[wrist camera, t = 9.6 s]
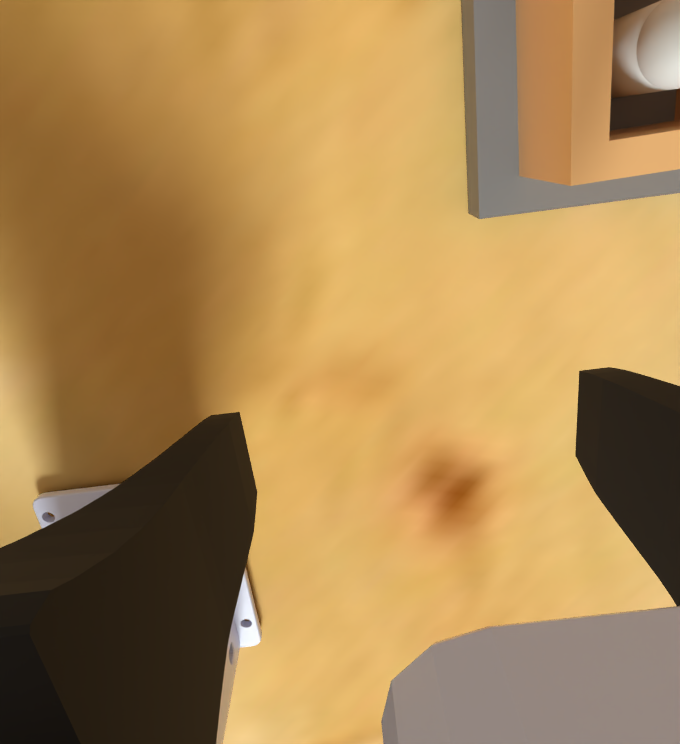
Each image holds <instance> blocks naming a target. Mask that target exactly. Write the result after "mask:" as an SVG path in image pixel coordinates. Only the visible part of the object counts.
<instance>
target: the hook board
mask: <svg viewBox="0 0 680 744" xmlns="http://www.w3.org/2000/svg"><path fill="white" fill-rule="evenodd" d="M461 7H462V36H463V66H464V95H465V125H466V154H467V183H468V213H469V214H471V215H473V216H475V217H477V218H478V219H483V218H491V217H498V216H506V215H514V214H521V213H529V212H537V211H544V210H552V209H560V208H567V207H575V206H583V205H590V204H598V203H606V202H613V201H621V200H628V199H636V198H644V197H651V196H659V195H667V194H674V193H680V169H677V170H671V171H664V172H658V173H651V174H645V175H639V176H632V177H626V178H619V179H613V180H606V181H600V182H593V183H587V184H581V185H574V186H568V185H563V184H557V183H552V182H547V181H542V180H537V179H531V178H526V177H521V176H519V143H518V95H517V48H516V1H515V0H461ZM678 88H680V0H614V26H613V53H612V79H611V105H610V131H612V130H618V129H625V128H631V127H637V126H644V125H650V124H656V123H662V122H669V121H674V117H675V105H676V92H677V89H678Z"/></svg>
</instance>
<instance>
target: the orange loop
mask: <svg viewBox="0 0 680 744" xmlns="http://www.w3.org/2000/svg"><path fill="white" fill-rule="evenodd" d="M515 1H516V48H517V95H518V143H519V176H521V177H526V178H531V179H537V180H542V181H547V182H552V183H557V184H563V185H568V186H574V185H581V184H587V183H593V182H600V181H606V180H613V179H619V178H626V177H632V176H639V175H645V174H651V173H658V172H664V171H671V170H677V169H680V88H678V89H677V92H676V105H675V117H674V121H669V122H662V123H656V124H650V125H644V126H637V127H631V128H625V129H618V130H612V131H610V105H611V79H612V53H613V26H614V0H515Z"/></svg>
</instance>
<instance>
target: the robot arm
mask: <svg viewBox="0 0 680 744" xmlns="http://www.w3.org/2000/svg"><path fill="white" fill-rule="evenodd" d="M576 457H577V459H578V461H579V463H580V465H581V467H582V469H583V471H584V473H585V475H586V477H587V479H588V480H589V482H590V484H591V486H592V488H593V489H594V491H595V493H596V494H597V496H598V497H599V499H600V500H601V501H602V503H603V504H604V506H605V507H606V508H607V510H608V511H609V512H610V514H611V515H612V516H613V518H614V519H615V521H616V522H617V523H618V525H619V526H620V527H621V529H622V530H623V531H624V533H625V534H626V535H627V537H628V538H629V539H630V541H631V542H632V543H633V545H634V546H635V547H636V549H637V550H638V551H639V553H640V554H641V555H642V557H643V558H644V559H645V561H646V562H647V563H648V565H649V566H650V567H651V569H652V570H653V571H654V572H655V574H656V575H657V576H658V578H659V579H660V581H661V582H662V584H663V585H664V587H665V588H666V590H667V591H668V593H669V594H670V595H671V597H672V599H673V600H674V602H675V604H676V605H677V606H676V607H667V608H658V609H648V610H639V611H630V612H620V613H611V614H601V615H592V616H583V617H573V618H564V619H554V620H545V621H536V622H526V623H517V624H507V625H498V626H489V627H485V628H481V629H478V630H475V631H472V632H468V633H465V634H462V635H458V636H455V637H452V638H449V639H445V640H442V641H439V642H436V643H434V644H433V645H431V646H430V647H429V648H428V649H427V650H426V651H424V652H423V653H422V654H421V655H420V656H419V657H418V658H417V659H415V660H414V661H413V662H412V663H411V664H410V665H409V666H407V667H406V668H405V669H404V670H403V671H402V672H401V673H400V674H398V675H397V676H396V677H395V678H394V679H393V680H392V681H391V684H390V688H389V692H388V697H387V701H386V705H385V709H384V713H383V717H382V732H383V743H384V744H680V386H677V385H674V384H671V383H667V382H664V381H661V380H658V379H654V378H651V377H648V376H644V375H641V374H637V373H634V372H630V371H626V370H622V369H617V368H610V367H608V368H600V369H592V370H583V371H579V392H578V414H577V435H576ZM256 500H257V489H256V485H255V480H254V476H253V471H252V467H251V462H250V458H249V453H248V449H247V444H246V439H245V435H244V430H243V426H242V421H241V417H240V412H236V413H228V414H219V415H211V416H210V417H208V418H206V419H205V420H203V421H202V422H201V423H199V424H198V425H197V426H195V427H194V428H193V429H192V430H190V431H189V432H188V433H187V434H185V435H184V436H183V437H182V438H181V439H179V440H178V441H177V442H176V443H174V444H173V445H172V446H171V447H169V448H168V449H167V450H166V451H164V452H163V453H162V454H161V455H159V456H158V457H157V458H155V459H154V460H153V461H151V462H150V463H149V464H147V465H146V466H145V467H143V468H142V469H140V470H139V471H138V472H136V473H135V474H134V475H132V476H131V477H129V478H128V479H127V480H125V481H124V482H123V483H121V484H114V485H105V486H97V487H88V488H80V489H71V490H63V491H54V492H45V493H42V494H40V495H39V496H37V498H36V499H35V500H34V502H33V509H34V511H35V513H36V516H37V518H38V521H39V523H40V526H41V528H42V529H40V530H38V531H36V532H34V533H32V534H30V535H28V536H26V537H24V538H22V539H20V540H18V541H16V542H13V543H11V544H9V545H6V546H4V547H2V548H0V744H223V740H224V734H225V728H226V723H227V717H228V711H229V706H230V700H231V694H232V689H233V683H234V677H235V672H236V666H237V660H238V655H239V649H240V647H249V646H254V645H257V644H258V643H259V642H260V641H261V635H262V632H261V628H260V623H259V619H258V615H257V611H256V607H255V603H254V599H253V595H252V591H251V587H250V583H249V579H248V575H247V570H246V563H247V559H248V554H249V550H250V546H251V541H252V537H253V532H254V523H255V513H256ZM47 512H50V513H52V514H53V515H54V516H55V517H53V516H50V515H48V513H47ZM244 619H248V620H249V621H245V620H244Z"/></svg>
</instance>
